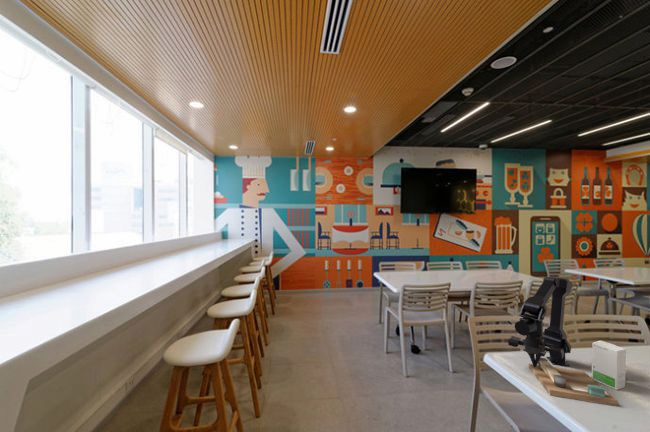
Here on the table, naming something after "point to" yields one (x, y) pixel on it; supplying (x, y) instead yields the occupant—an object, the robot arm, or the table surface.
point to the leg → (552, 373)
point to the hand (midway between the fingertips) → (534, 366)
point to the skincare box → (608, 364)
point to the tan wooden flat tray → (574, 386)
